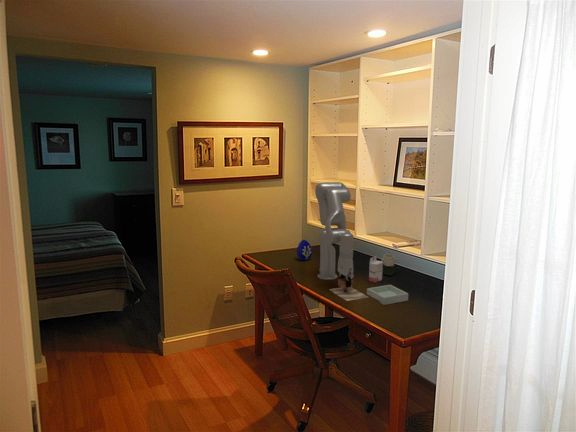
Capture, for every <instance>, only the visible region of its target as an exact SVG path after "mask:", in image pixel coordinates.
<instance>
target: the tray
mask: <svg viewBox="0 0 576 432" xmlns="http://www.w3.org/2000/svg"><path fill="white" fill-rule="evenodd" d="M366 294H367V296H369V297H372V298H373V299H375V300H377V301H376V302H377V303H379V304H381V305H383V306H385V305H392V304H395V303H396V304H397V303H402V302H408V301H409V293H408V292H407V291H404V290H402V289H400V288H398V287H396V286H394V285H392V284H385V285H380V286H375V287H369V288H366Z"/></svg>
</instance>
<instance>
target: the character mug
mask: <svg viewBox="0 0 576 432" xmlns="http://www.w3.org/2000/svg"><path fill="white" fill-rule="evenodd" d="M380 261H382V262H383V266H384V267H383V272H382V275H385V276H393V275H394V267H393V266H395V263H397V257H395V254H392V253H391V254H390V253H385V254H383V256H382V258H381V259H380Z"/></svg>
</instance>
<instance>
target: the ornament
mask: <svg viewBox="0 0 576 432" xmlns="http://www.w3.org/2000/svg"><path fill="white" fill-rule="evenodd" d="M296 255H297V258H298V259H299V260H300V261H309V259H310V258H311V257H312V255H313V249H312V245H311V244H310V242H309V241H308V240H306V239H302V240H301V241H300V242H299V243H298V245H297V249H296Z"/></svg>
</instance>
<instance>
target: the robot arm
mask: <svg viewBox="0 0 576 432" xmlns="http://www.w3.org/2000/svg"><path fill="white" fill-rule="evenodd" d="M314 190H315V191H314V192H315V198H316V200H317V202H318V209H319V210H318V211H319V220H320V224H321V225H322V226H324V228H322V229H321V230H319V232H318V238H319V240H318V241H319V246H320V247H319V251H320V254H319V262H320V263H319V269H318V271H319V273H318V274H317V278H318V279H320V280H323V281H324V280H325V281H331V280H332V281H333V280H336V279H337V278H338V276H339V279H342V278H346V279H347V280H346V287H351V280H353V278H354V277H355V275H354V260H353V258H354V234H353V233H351V231H350V230H349V229H347V218H346V215H345V214H346V213H345V208H344V205H343V203H348V202H350V201H351V198H352V197H351V196H352V195H351V191H350V190H349V187H347V186H346V184H344V183H343V182H339V181H335V182H334V181H332V182H331V181H328V182H319V183H317V184H316V186H315V188H314ZM334 226H335V227H334ZM333 244H339V253H338V254H339V256H338V260H337V273H338V274H339V275H338V274H337V273H336V248H335V247H334V245H333Z"/></svg>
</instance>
